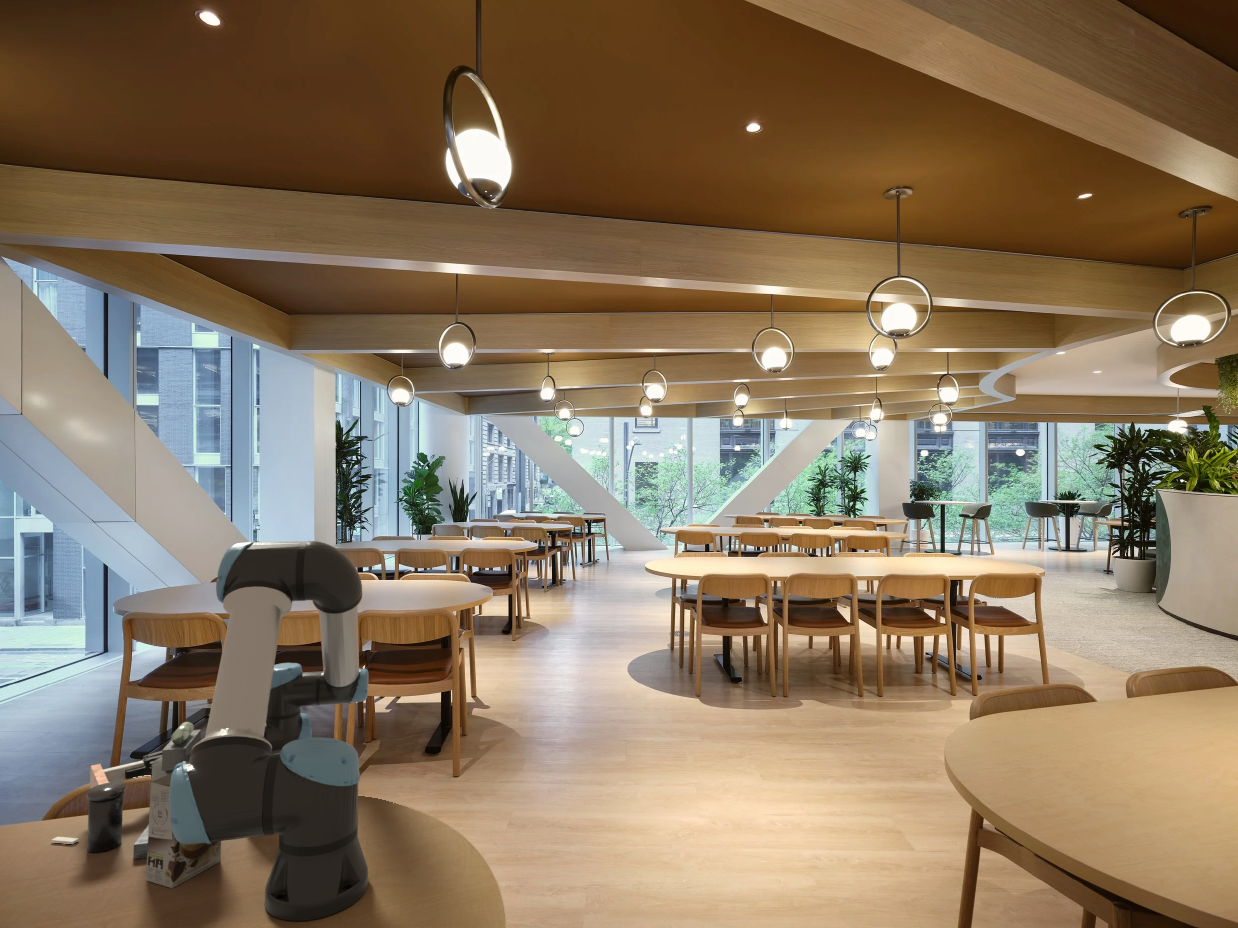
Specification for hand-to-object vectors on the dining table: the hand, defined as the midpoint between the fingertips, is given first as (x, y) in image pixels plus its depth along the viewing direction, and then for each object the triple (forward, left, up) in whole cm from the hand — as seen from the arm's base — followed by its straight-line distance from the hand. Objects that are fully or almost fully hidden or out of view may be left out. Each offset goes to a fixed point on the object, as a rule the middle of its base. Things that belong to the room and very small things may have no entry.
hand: (103, 777), depth 136 cm
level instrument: (-12, -16, -8) cm, 22 cm away
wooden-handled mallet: (-6, -2, -8) cm, 10 cm away
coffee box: (-24, -20, -8) cm, 33 cm away
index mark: (-8, +3, -8) cm, 12 cm away
